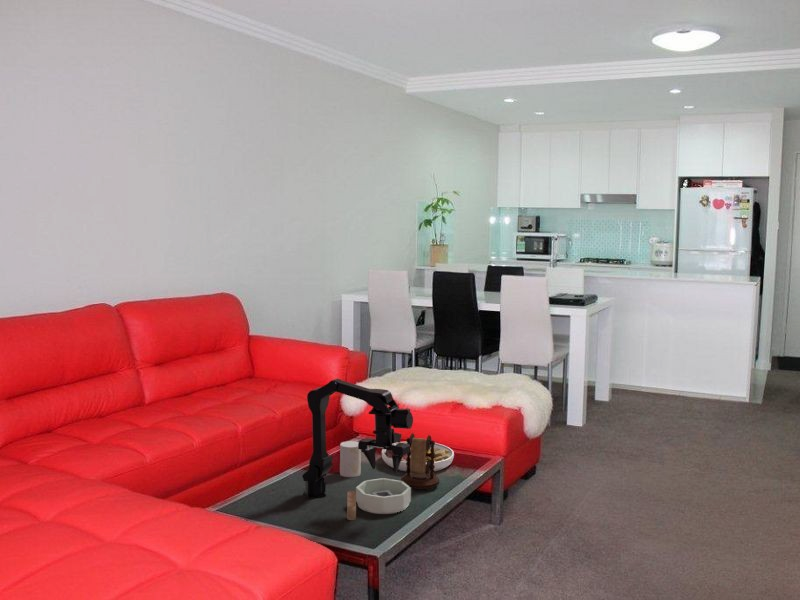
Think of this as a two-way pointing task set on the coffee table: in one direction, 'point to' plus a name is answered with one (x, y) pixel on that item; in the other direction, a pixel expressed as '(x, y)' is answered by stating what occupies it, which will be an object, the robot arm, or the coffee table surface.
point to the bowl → (440, 460)
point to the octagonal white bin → (383, 496)
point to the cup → (350, 459)
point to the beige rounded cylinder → (351, 505)
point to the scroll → (420, 464)
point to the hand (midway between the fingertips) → (384, 470)
